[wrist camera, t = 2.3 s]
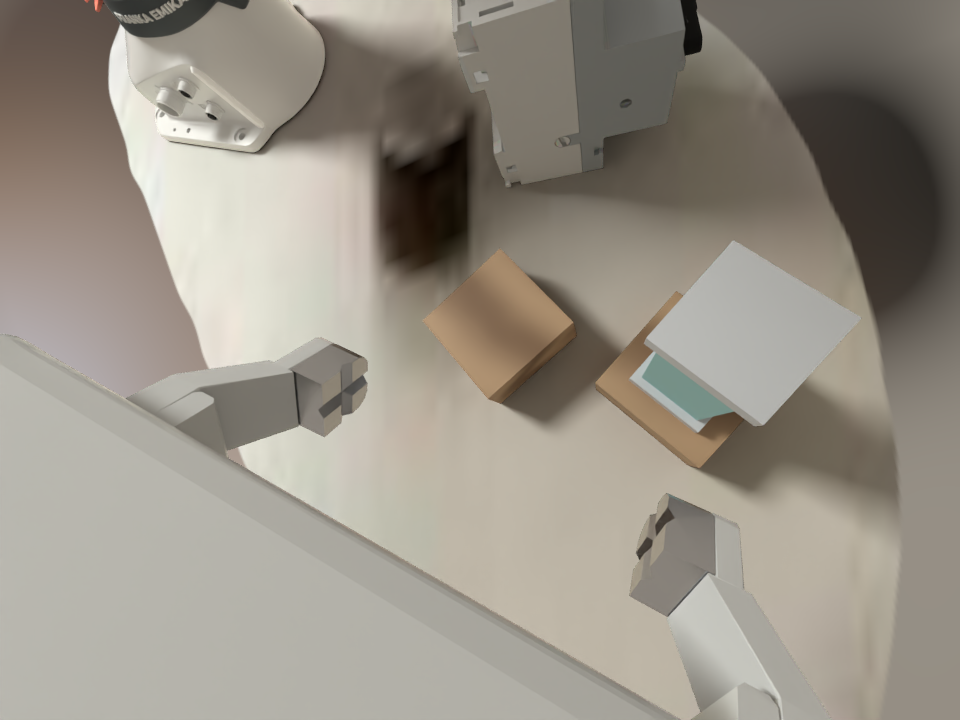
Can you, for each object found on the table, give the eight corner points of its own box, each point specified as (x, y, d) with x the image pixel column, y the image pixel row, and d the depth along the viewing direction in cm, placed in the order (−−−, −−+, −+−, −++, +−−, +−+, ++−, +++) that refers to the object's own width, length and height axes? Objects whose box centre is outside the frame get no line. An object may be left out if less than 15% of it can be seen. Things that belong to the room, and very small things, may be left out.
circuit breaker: (683, 151, 34) (740, -57, 20) (506, 187, 38) (448, 33, 24) (670, 71, 36) (715, -175, 21) (501, 113, 39) (444, -74, 25)
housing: (694, 432, 27) (763, 425, 15) (628, 380, 28) (645, 337, 17) (750, 371, 26) (861, 317, 15) (680, 322, 28) (733, 240, 17)
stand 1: (500, 403, 34) (488, 398, 31) (441, 333, 37) (422, 320, 33) (576, 335, 34) (573, 322, 30) (510, 268, 36) (499, 248, 32)
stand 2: (687, 465, 30) (699, 468, 26) (596, 389, 33) (595, 382, 29) (766, 378, 30) (790, 368, 26) (667, 309, 32) (676, 291, 28)
